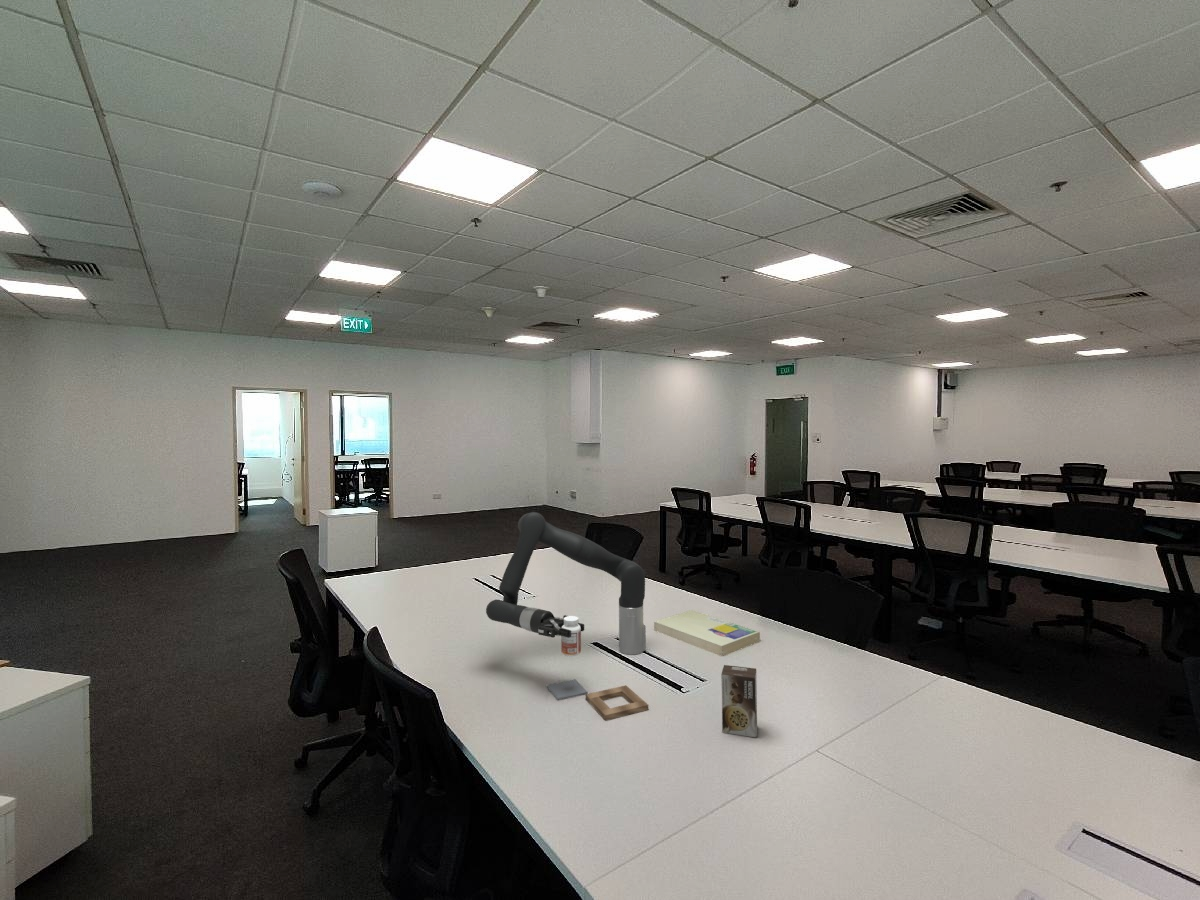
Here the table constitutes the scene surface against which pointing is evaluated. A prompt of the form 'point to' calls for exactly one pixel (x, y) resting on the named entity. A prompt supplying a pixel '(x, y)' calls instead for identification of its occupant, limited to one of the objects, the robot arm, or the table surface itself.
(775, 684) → the table surface
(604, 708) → the board
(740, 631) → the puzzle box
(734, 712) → the coffee box
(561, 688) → the pad
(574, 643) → the pill bottle
